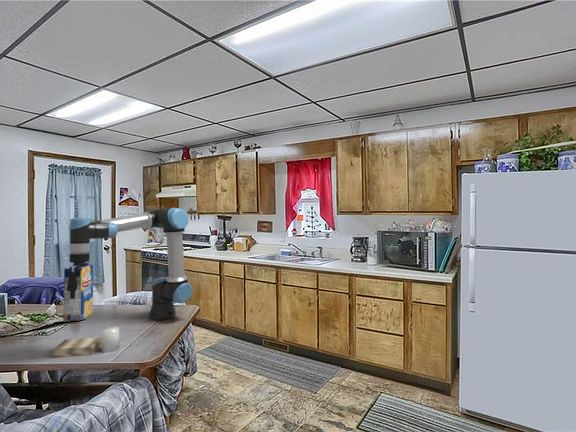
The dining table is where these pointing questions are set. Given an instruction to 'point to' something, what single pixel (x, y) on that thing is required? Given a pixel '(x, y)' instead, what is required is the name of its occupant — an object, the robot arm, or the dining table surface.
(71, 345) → the maple block
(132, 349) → the dining table surface
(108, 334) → the white rounded cylinder
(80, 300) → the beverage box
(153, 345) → the dining table surface
